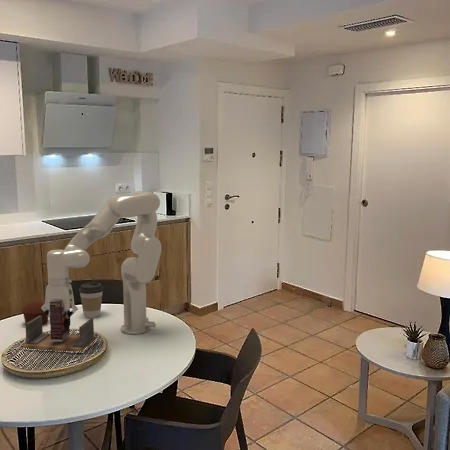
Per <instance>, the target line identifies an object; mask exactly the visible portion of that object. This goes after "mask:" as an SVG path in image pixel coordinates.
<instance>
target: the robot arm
mask: <svg viewBox="0 0 450 450" xmlns="http://www.w3.org/2000/svg"><path fill="white" fill-rule="evenodd" d="M160 206H161V200H160V197H159V196H158V195H157V194H156V193H154V192H151V191H150V192H149V191H144V190H143V191H142V190H138V191H134V192H133V193H132V194H131V195H128V196H127V195H125V196H124V195H118V194H117V195H116V194H115V195H111V196H110V197H109V198H108V199H107V200H106V201H105V202H104V204H103V205H102V206H101V207H100V209H99V210H98V212H96V214H95V216H93V218H92V219H91V220H90V222H89V223H87V224H86V225H84V227H82V228H81V229H80V230H79V231H78V232H77V233H76V234H75V235H74V236H73V238H71V240H70V241H69V242H68V244H66V246H65V248H64V249H51V250H49V251H48V252H47V254H46V264H47V265H46V266H47V285H46V288H45V289H46V290H45V296H44V301H45V302H44V305H43V306H42V307H41V309H42V310H43V311H44V312H45V313H46V314H47V315H48V318H49V319H50V301H52V300H54V301H63V311H64V315H65V319H64V328H68V327H69V326H71V317H72V316H73V315H74V314H75V313H76V312H77V311H78V310H79V308H78V307H77V305H76V304H75V299H74V297H75V296H74V292H73V288H72V284H71V283H72V282H73V281H72V279H70V276H69V269H81V268H85V267H87V265H88V264H89V263H90V261H91V257H90V254H89V252H87V251H86V250H87V249H88V248H89V246H91V245H92V244H93V243H94V242H96V241H98V240H99V239H102V238H103V239H104V238H105V237H106V236H108V235H109V234H110V232H111V231H112V230H113V228H114V227H115V226H116V224H117V223H118V222H119V220H120V219H121V218H123V219H125V218H135V217H136V219H137V220H136V225H135V229H134V232H133V235H132V238H131V242H130V249H131V251H132V252H133V254H135V255H137V257H134V256H133V257H132V256H130V257H128V258H126V259H125V260H124V261H123V262H122V264H121V267H120V274H121V279H122V290H123V294H122V295H123V325H121V326H120V331H121V333H123V334H127V335H140V334H144V333H147V332H148V331H150V330H151V328H154V329H155V328H156V325H157V324H156V322H155V321H150V320H149V317H147V289H146V288H147V287H146V286H147V284H149V283H150V282H151V281H152V280H153V279H154V277H155V275H156V273H157V272H156V271H157V268H158V264H159V262H160V258H161V254H162V243H161V241H160V240H159V238H158V237H156V236H155V234H156V230H157V226H158V215H157V211H158V209H159V208H160Z"/></svg>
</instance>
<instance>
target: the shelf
mask: <svg viewBox="0 0 450 450" xmlns="http://www.w3.org/2000/svg"><path fill="white" fill-rule="evenodd" d="M94 324H95V323H94V318H88V320H87V321H86V322H84V323H83V324H81V325H80V326H79V330H78V331H79V335H77V334H76V335H74V334H69V335H68V336H67V337H66V338H65V339H64V340H63V341H62V342H53V341H51V333H45V332H44V331H43V326H42V316H38V317H36V318H34V319H33V320H31V321H29V322H28V323H25V341H26V343H24V344H23V348H29V349H40V350H54V351H83V350H84V349H85V348H86V347H87V346H89V345H90V344H91V343H92V342H93V341H94V340H95V339H96V338H98V337H97V336H95V330H94V329H95V328H94V327H95V325H94Z"/></svg>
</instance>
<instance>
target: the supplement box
mask: <svg viewBox="0 0 450 450" xmlns="http://www.w3.org/2000/svg"><path fill="white" fill-rule="evenodd" d="M64 319H65V315H64V311H63V301H54V300H52V301H50V318H49V325H50V326H49V327H50V334H51V341H53V342H62V341H63V340H64V339H65V338H66V337H67V336H68V335H71V331H70V330H71V329H70V326H71V325H70V326H69V327H68V328H64Z"/></svg>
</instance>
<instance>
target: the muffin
mask: <svg viewBox="0 0 450 450" xmlns="http://www.w3.org/2000/svg"><path fill="white" fill-rule="evenodd" d="M44 303H45V302H43V301H41V300H33V301H30V302H27V303H26V304H25V305H24V306H23V308H22V310H21V312H22V313H23V318H24V323H25V324H26V323H28V322H29V321H31V320H33V319H34V318H36V317H38V316H42V327H43V326H44V325H47V323H48V321H49V320H48V318H49V317H48V315H47V314H46V313H45V312H44V311H43V310H42V309H41V307H42V306H43V305H44Z"/></svg>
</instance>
